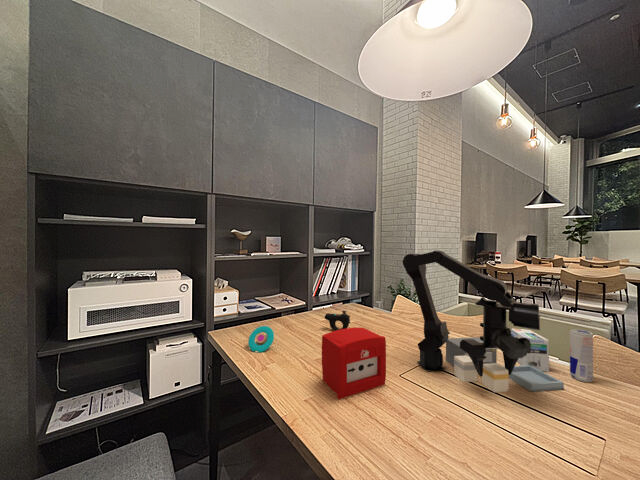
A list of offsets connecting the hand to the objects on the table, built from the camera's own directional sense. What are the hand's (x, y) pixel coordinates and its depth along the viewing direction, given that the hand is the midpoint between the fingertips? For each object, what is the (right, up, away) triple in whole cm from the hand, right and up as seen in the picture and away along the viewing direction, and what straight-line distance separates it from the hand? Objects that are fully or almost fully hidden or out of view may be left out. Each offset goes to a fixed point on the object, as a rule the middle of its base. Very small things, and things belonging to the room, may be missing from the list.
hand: (494, 375), depth 76 cm
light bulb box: (+22, -4, +15) cm, 27 cm away
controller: (-43, -4, +47) cm, 64 cm away
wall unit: (+1, -4, +14) cm, 15 cm away
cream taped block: (0, -4, 0) cm, 4 cm away
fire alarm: (-41, -4, +2) cm, 42 cm away
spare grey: (-6, -4, +5) cm, 8 cm away
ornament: (-75, -4, +26) cm, 80 cm away
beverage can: (+31, -4, +5) cm, 31 cm away
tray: (+14, -4, +4) cm, 15 cm away
